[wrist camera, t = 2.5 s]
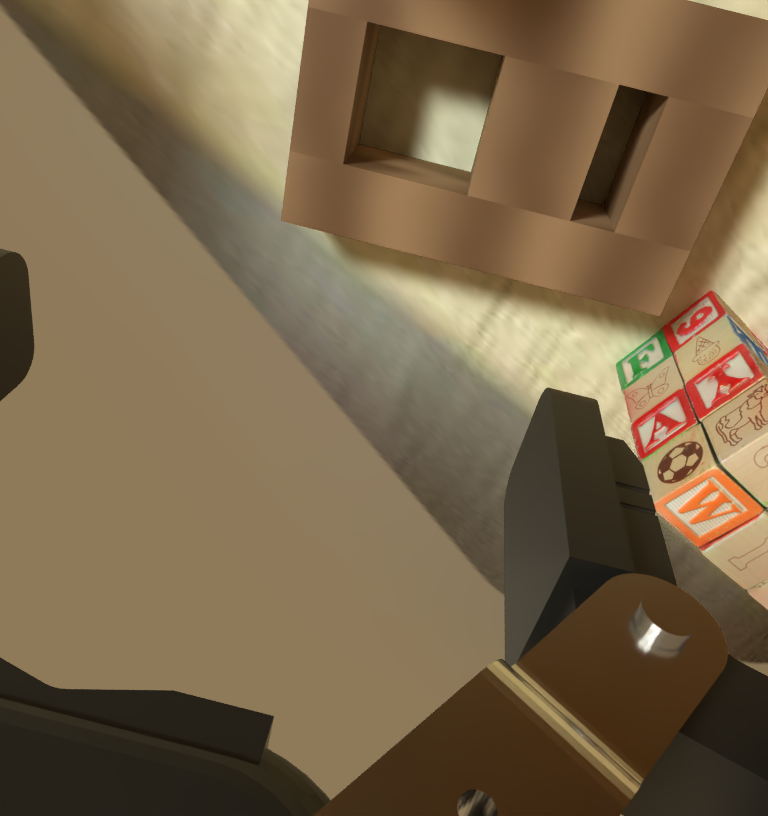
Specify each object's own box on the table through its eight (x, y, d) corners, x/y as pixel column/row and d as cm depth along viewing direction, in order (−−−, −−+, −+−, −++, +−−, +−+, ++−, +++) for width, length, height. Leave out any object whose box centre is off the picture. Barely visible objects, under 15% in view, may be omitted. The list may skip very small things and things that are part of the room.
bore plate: (301, 196, 36) (280, 220, 33) (341, -86, 29) (320, -91, 26) (645, 283, 36) (659, 316, 32) (762, 19, 29) (796, 27, 26)
